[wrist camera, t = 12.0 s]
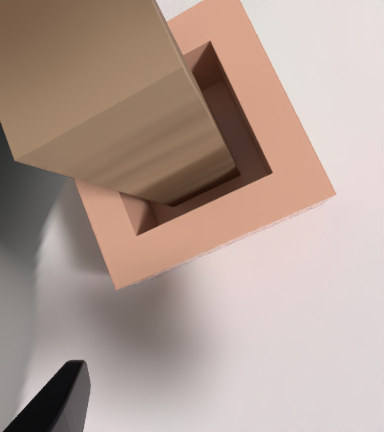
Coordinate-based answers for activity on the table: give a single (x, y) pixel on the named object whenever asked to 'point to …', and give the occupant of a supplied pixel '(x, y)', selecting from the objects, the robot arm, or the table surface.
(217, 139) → the walnut stick
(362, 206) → the table surface
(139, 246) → the box
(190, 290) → the table surface
